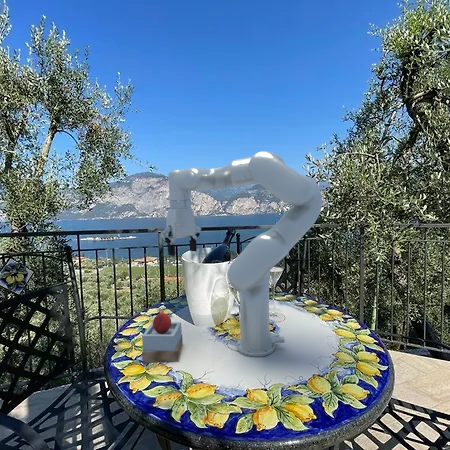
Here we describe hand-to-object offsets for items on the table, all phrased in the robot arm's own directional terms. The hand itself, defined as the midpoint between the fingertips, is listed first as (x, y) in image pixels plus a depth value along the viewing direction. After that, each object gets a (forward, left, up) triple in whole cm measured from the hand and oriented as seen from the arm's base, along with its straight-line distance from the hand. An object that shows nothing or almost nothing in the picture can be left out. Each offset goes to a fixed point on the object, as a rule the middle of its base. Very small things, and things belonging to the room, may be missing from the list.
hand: (182, 253), depth 111 cm
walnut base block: (+6, +13, -31) cm, 34 cm away
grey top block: (+6, +13, -27) cm, 31 cm away
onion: (+6, +13, -24) cm, 28 cm away
